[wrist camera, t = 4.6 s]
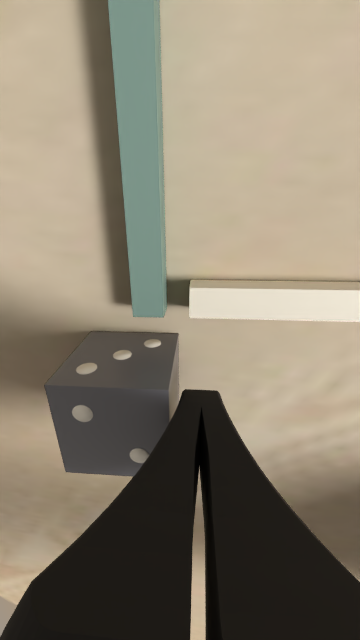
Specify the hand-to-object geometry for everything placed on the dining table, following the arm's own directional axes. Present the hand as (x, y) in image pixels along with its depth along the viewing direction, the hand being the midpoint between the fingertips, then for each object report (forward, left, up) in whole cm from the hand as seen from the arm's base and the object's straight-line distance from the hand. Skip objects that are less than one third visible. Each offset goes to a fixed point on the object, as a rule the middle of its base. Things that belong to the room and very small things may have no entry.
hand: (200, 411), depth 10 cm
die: (0, +3, -3) cm, 4 cm away
